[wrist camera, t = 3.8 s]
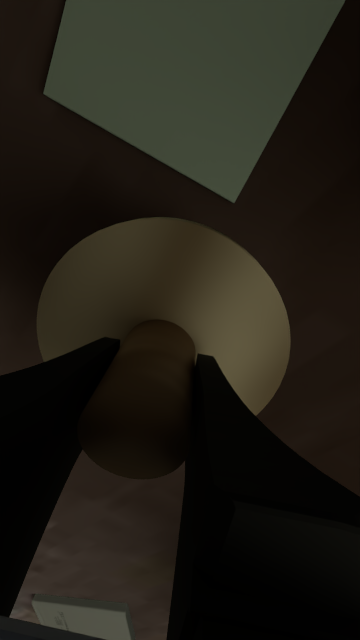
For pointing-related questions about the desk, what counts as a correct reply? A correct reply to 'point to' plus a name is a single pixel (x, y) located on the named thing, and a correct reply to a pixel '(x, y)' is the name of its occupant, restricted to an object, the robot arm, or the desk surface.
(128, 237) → the lid
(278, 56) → the mat
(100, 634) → the external hard drive
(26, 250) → the desk surface
